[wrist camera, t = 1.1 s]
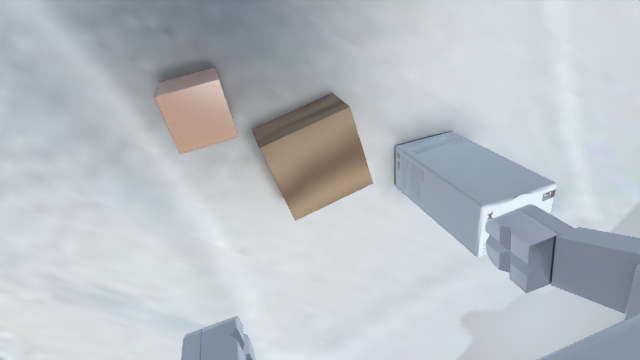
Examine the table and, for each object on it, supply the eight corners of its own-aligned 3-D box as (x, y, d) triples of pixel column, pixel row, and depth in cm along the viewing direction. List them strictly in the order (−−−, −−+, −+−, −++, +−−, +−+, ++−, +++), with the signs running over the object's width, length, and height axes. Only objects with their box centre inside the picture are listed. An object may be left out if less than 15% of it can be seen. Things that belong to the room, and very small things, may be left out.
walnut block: (251, 129, 36) (259, 148, 32) (331, 92, 37) (349, 106, 33) (284, 196, 41) (295, 220, 37) (354, 163, 42) (373, 183, 38)
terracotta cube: (159, 81, 31) (153, 97, 27) (215, 66, 32) (218, 79, 28) (181, 133, 34) (179, 154, 30) (232, 118, 35) (238, 136, 31)
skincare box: (393, 185, 45) (471, 263, 32) (394, 141, 42) (480, 209, 29) (452, 170, 46) (547, 238, 34) (456, 127, 43) (563, 184, 31)
